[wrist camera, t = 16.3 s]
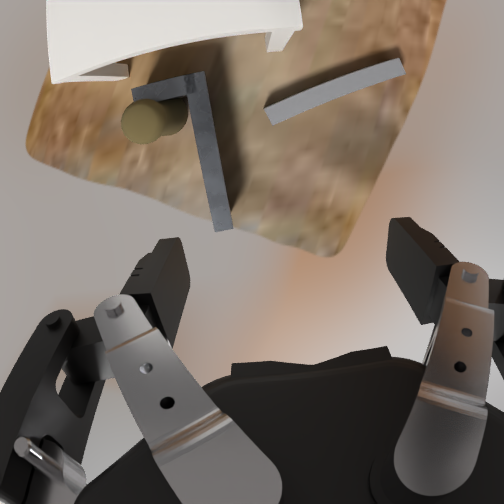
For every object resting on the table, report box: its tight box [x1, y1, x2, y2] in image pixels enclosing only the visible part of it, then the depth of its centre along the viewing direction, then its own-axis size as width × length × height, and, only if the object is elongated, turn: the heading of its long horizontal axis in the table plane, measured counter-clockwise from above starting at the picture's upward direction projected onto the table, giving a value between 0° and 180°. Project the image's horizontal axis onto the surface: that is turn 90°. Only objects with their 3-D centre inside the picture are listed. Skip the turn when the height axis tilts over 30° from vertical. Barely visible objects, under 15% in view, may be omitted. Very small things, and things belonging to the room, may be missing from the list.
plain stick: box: [264, 58, 406, 126], centre depth 35 cm, size 2×20×3 cm, turn 117°
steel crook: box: [131, 71, 233, 232], centre depth 38 cm, size 9×20×6 cm, turn 8°
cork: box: [121, 98, 188, 144], centre depth 33 cm, size 6×6×11 cm
